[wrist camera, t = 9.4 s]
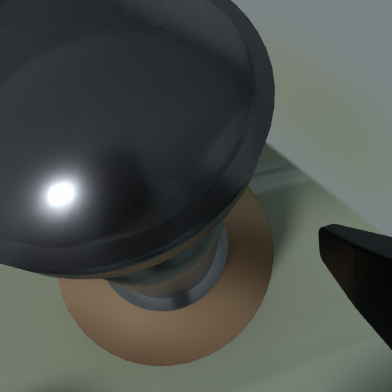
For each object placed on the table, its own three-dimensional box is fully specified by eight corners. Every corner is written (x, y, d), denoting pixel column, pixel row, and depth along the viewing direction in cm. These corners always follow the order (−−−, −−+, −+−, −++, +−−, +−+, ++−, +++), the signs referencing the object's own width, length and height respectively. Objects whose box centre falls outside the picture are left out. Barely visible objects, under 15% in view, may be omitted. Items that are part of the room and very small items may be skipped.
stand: (234, 384, 18) (243, 402, 14) (51, 320, 20) (17, 321, 16) (276, 202, 22) (291, 179, 19) (122, 159, 24) (108, 130, 20)
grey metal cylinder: (157, 341, 15) (10, 430, 3) (80, 243, 17) (-195, 72, 5) (251, 250, 17) (380, 88, 5) (171, 169, 19) (124, -91, 7)
